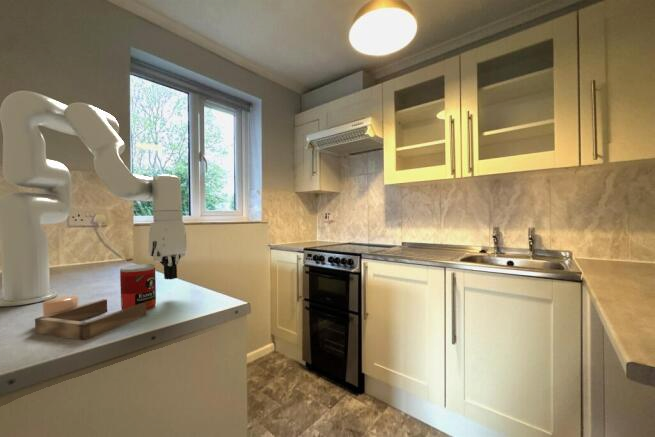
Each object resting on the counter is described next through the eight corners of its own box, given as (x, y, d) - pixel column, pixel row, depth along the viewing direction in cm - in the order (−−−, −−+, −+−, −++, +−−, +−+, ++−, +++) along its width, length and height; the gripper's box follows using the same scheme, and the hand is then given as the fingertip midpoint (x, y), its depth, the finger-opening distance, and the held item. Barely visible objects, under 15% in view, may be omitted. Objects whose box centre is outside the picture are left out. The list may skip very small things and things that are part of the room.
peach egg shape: (36, 324, 65) (36, 302, 65) (67, 315, 71) (66, 295, 71) (55, 326, 63) (54, 304, 63) (84, 317, 69) (84, 296, 69)
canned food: (139, 313, 71) (138, 269, 71) (113, 312, 72) (111, 269, 72) (163, 304, 78) (162, 264, 78) (138, 302, 80) (137, 263, 80)
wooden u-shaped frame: (35, 332, 60) (35, 318, 60) (103, 310, 73) (103, 299, 73) (83, 340, 56) (83, 325, 56) (146, 315, 70) (146, 303, 70)
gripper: (177, 217, 93) (179, 273, 93) (135, 218, 78) (138, 284, 79) (196, 216, 91) (199, 273, 91) (156, 217, 76) (159, 285, 77)
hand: (170, 278), depth 85 cm, fingers closed
